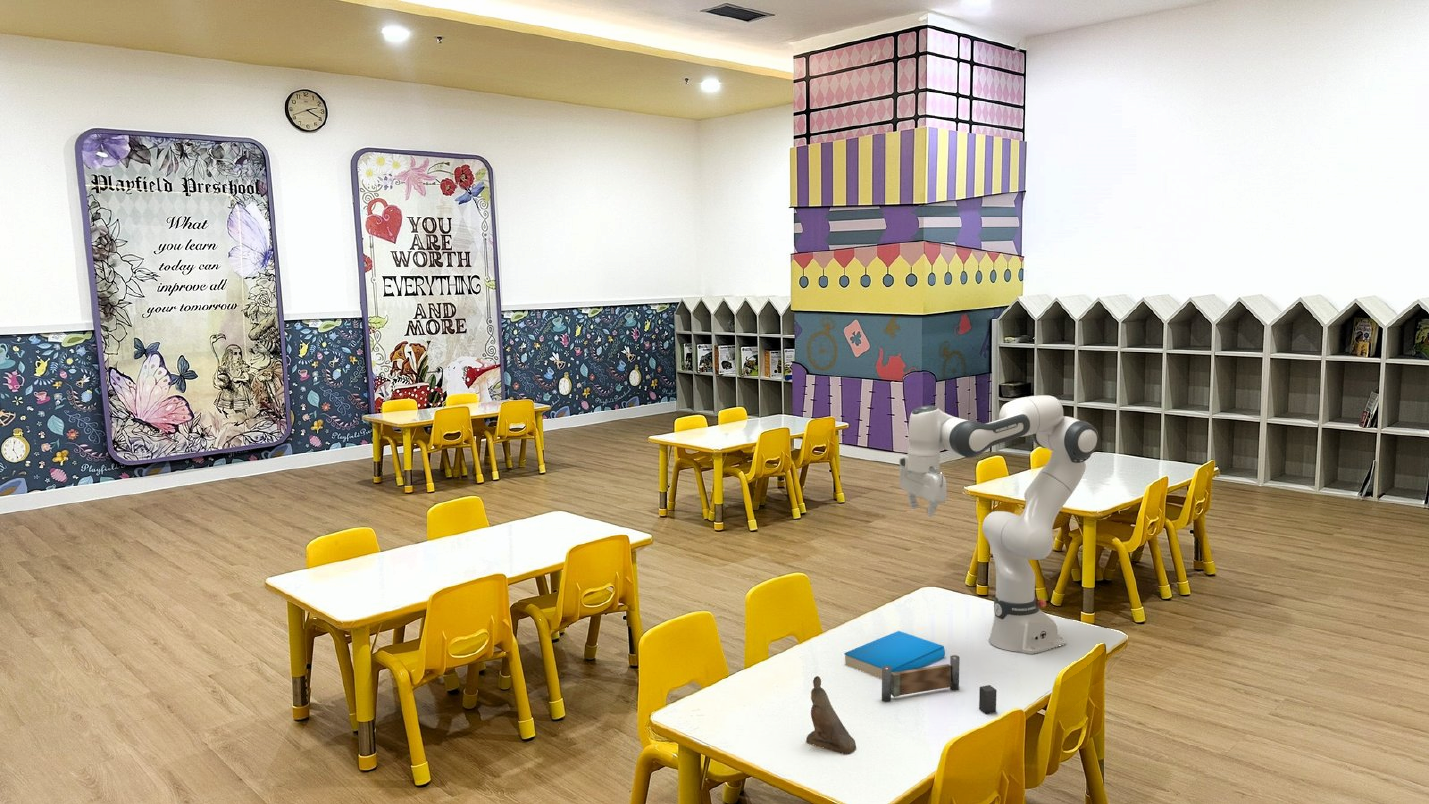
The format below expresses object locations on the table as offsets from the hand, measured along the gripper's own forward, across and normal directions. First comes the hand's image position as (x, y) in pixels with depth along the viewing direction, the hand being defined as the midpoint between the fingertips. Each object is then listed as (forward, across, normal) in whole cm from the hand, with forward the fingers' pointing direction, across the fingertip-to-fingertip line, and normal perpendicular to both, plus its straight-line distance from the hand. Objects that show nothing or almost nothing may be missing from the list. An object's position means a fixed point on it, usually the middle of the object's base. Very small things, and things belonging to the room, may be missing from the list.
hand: (922, 512), depth 273 cm
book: (+45, +2, +6) cm, 45 cm away
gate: (+43, -20, +10) cm, 49 cm away
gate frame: (+44, -27, +10) cm, 53 cm away
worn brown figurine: (+45, -37, +44) cm, 73 cm away
